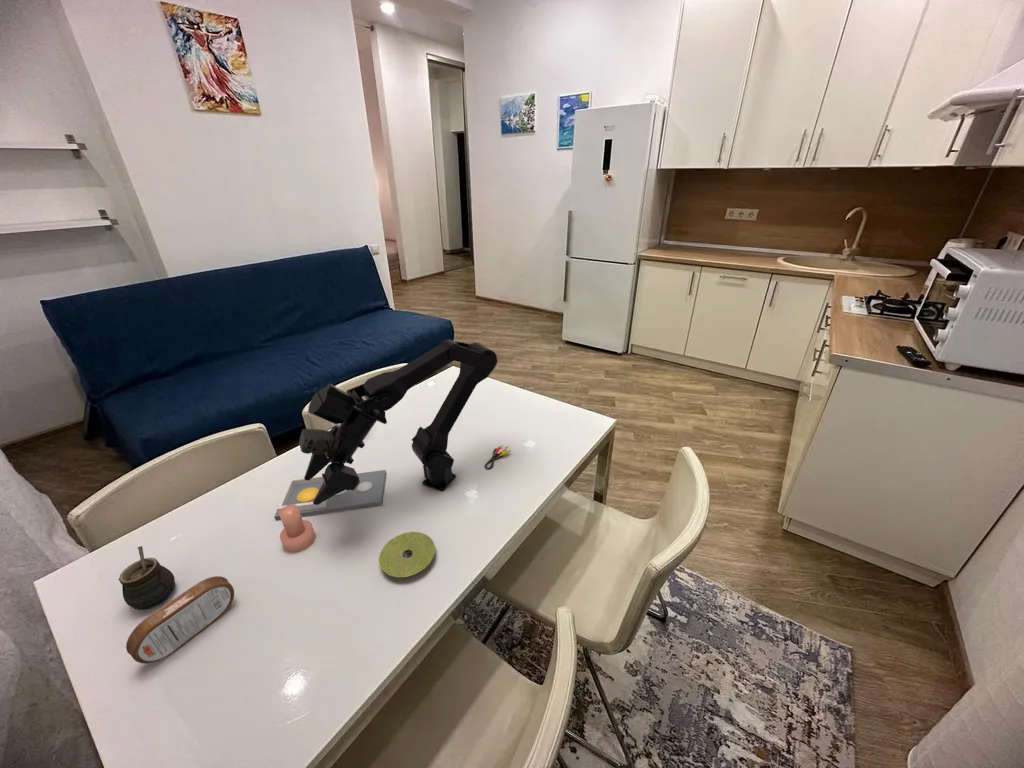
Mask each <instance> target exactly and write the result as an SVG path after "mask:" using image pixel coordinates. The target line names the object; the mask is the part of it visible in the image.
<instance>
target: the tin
mask: <svg viewBox="0 0 1024 768" xmlns="http://www.w3.org/2000/svg"><path fill="white" fill-rule="evenodd" d="M234 597H235V590H234V587H233V585H232V584H231V583H230V582H229V580H228V579H227V578H226V577H223V576H218V575H216V576H211V577H207V578H204V579H202V580H200V581H199V582H197V583H195V584H194V585H192V586H191V587H190V588H188V589H186V591H184V592H182V593H181V594H180V595H178V596H176V597H175V598H173V599H172V600H170V601H169V602H167V603H166V604H164V605H162V607H160V608H159V609H157V610H155V611H154V612H153V613H151V614H149V615H148V616H147V617H145V618H144V619H143V620H141V621H140V622H139V623H138V624H137V625H136V626H135V627H134V629H133V630H132V631H131V633H130V635H129V636H128V637H127V641H126V644H125V645H126V646H125V649H126V652H127V654H128V655H130V657H131V658H132V659H133V661H135V662H137V663H138V664H143V665H146V664H147V665H149V664H154V663H157V662H160V661H162V660H164V659H166V658H167V657H169V656H171V655H172V654H174V653H175V652H177V651H178V650H179V649H180V648H181V647H183V646H184V645H185V644H187V643H188V642H189V641H191V640H192V639H194V638H195V637H196V636H197V635H199V634H200V633H202V632H203V631H204V630H205V629H207V628H208V627H209V626H210V625H212V624H213V623H215V622H216V621H217V620H218V619H220V618H221V617H222V616H223V615H224V614H225V613H226V612H227V611H228V609H230V607H231V605H232V603H233V601H234Z"/></svg>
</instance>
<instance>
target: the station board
mask: <svg viewBox="0 0 1024 768" xmlns="http://www.w3.org/2000/svg"><path fill="white" fill-rule="evenodd" d="M357 475H358V477H359V481H360V483H359V484H358V486H357V487H356V488H355V490H344V491H342V492H340V493H338V494H336V495H334V496H332V497H331V498H329V499H327V500H326V501H324V502H322V503H320V504H319V505H315V504H313V501H314V499H315V497H316V495H317V493H318V491H319V490H320V488H321V486H322V484H323V482H324V480H323V477H322V474H320V475H318V474H316V475H315V476H314V477H313V478H311V479H310V480H309V481H308V480H305V479H304V477H305V476H304V477H297V478H296V477H295V478H290V479H289V480H288V482H287V485H286V487H285V489H284V491H283V493H282V495H281V498H280V500H279V502H278V505H277V507H276V511H275V515H274V516H273V517H274V520H275V521H281V518H280V516H279V512H280V510H281V509H282V508H283V507H285V506H287V505H291V504H294V505H297V506H298V509H299V511H300V514H301V517H303V518H304V517H310V516H316V515H323V514H330V513H331V514H332V513H337V512H343V511H350V510H359V509H364V508H372V507H378V506H382V505H383V500H384V494H385V493H384V492H385V485H386V477H387V471H386V469H381V470H375V471H366V472H359V473H357Z"/></svg>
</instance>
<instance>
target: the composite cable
mask: <svg viewBox="0 0 1024 768" xmlns="http://www.w3.org/2000/svg"><path fill="white" fill-rule="evenodd" d="M508 448H509V446H508V445H507V446H503V444H501V445H500V446H498V447H496V448H494V449H493V451H492V456H491V458H490V459H489V460H488V461H486V463H485V464H484V466H483V467H484V469H485V470H492V469H493V468H494V465H495V461H496V460H497V461H498V460H499V459H501V458H502V457H504V456H506V455H508V454H509V453H510V452H512V449H508ZM489 464H490V465H489ZM488 465H489V466H488Z"/></svg>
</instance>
